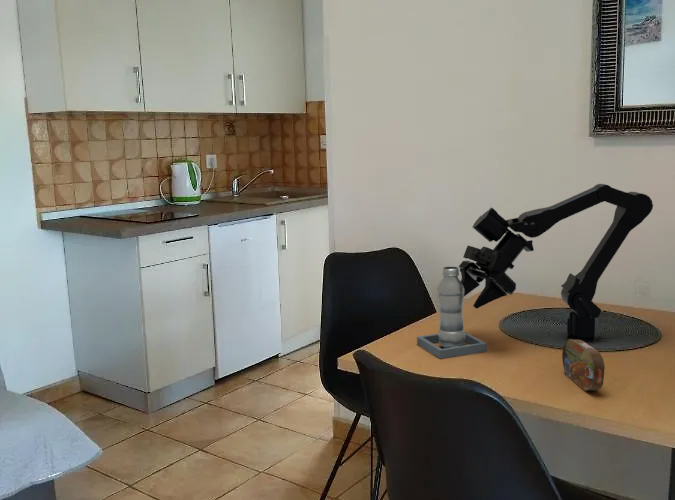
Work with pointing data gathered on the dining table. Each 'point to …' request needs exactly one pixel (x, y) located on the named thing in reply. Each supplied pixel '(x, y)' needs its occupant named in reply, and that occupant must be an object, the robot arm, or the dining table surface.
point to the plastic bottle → (451, 309)
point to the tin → (583, 364)
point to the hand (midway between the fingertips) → (465, 303)
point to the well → (474, 347)
